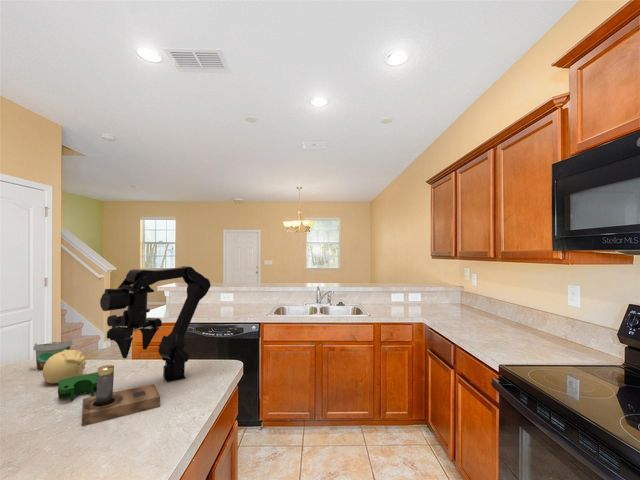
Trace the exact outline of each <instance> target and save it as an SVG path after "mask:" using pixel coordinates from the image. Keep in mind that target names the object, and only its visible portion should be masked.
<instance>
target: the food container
mask: <svg viewBox="0 0 640 480" xmlns="http://www.w3.org/2000/svg"><path fill="white" fill-rule="evenodd" d="M73 345H74V344H73V339H69V340H68V341H65V342H64V341H63V342H59V341H58V342H56V341H55V342H49V343H43V344H41V343H40V344H37V342H35V343H34V345H33V350H34V351H35V359H36V361H35V362H36V370H37V369H38V371H42V370H43V367H44V365H45V363H46V361H47V360H48V359H49V358H50V357H51V356H53V355H54V354H57V353H59V352H62V351H64V350H71V346H73Z"/></svg>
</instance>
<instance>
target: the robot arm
mask: <svg viewBox="0 0 640 480" xmlns="http://www.w3.org/2000/svg"><path fill="white" fill-rule="evenodd" d="M179 278H180V279H181V278H182V279H183V282H184V283H185V284H186V285H187V286H186V295H187V296H186V299H185V300H184V303H183V306H182V307H181V310H180V312H179V314H178V317H177V319H176V322H174V326H173V328H172V331H171V332H170V333H169V334H168V335H163V336H162V338H161V341H160V343H159V344H158V346H157V347H158V350H157V352H158V354H159V356H160V357H161V359H162V361H163V362H165V363H164V364H165V365H163V371H162V373H163V374H162V378H163V379H164V380H165V381H166V382H167V383H169V382H175V381H178V380H179V381H180V380H183V379H186V375H185V369H186V368H185V367H186V365H185V364H186V363H187V362H188V361H189V359H190V355H189V354H188V353H187V352H186V351H184V349H185V346H186V341H185V339H186V338H185V335H186V333H187V331H188V329H189V326H190V324H191V322H192V319H193V317H194V315H195V312H196V310H197V308H198V305H199V302H200V301H201V300H202V299H203V298H204V297H205V296H206V295H207V294H208V292H209V290H210V289H211V281H210V280H209V279H208V277H205V276H204V275H203V274H201V273H199V272H198V271H197V270H195V268H194V267H192V266H186V265H185V266H184V265H183V266H181V267H180V266H178V267H170V268H164V269H163V268H162V269H154V270H153V269H138V268H137V269H135V268H134V269H130V270H129V271H128V272H127V274H126V276H125V278H124V279H123V281H122V282H121V283H120V284H119V286H118V287H117V288H105V289H104V293H102V295H101V298H100V300H99V305H100V308H101V310H102V311H103V312H108V311H115V310H117V311H118V310H124V311H123V313H122V315H119V316H118V315H116V314H114V315H110V316H107V319H106V323H107V324H106V325H107V326H108V327H111V328H109V329H108V330H107V332H106V339H107V340H108V339H109V340H110V341H113V342H115V343H116V344H117V347H118V349H119V352H120V354H121V357H122V359H127V358H128V355H129V353H130V348H131V345H132V343H133V339H134V337H132V336H133V333H134V332H136V331H140V333H141V337H142V340H141V341H142V344H141V345H142V350H147V349H148V347H149V346H150V343H151V342H152V340H153V338H154V336H155V335H156V333H157V331H158V330H159V329H160V327H162V325H163V324H162V323H163V321H162V319H160V317H158V318H157V317H147V315H148V313H150V311H151V310H150V308H148V294H150V293H154V292H155V290H154V289H153V288H152V287H151V286H152V285H154V284H156V283H158V282H160V281H168V280H174V279H179ZM126 308H127V309H126ZM125 309H126V310H125Z"/></svg>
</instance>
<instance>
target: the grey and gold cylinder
mask: <svg viewBox="0 0 640 480" xmlns="http://www.w3.org/2000/svg"><path fill="white" fill-rule="evenodd" d="M97 372H98V374H97V390H96V395H95V396H96V407H101V406H106V405H109V404H111V403H112V400H113V392H114V381H115V379H114V376H115V365H113V364H107V365H106V364H105V365H102V366H99V367H97Z"/></svg>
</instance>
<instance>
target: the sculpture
mask: <svg viewBox="0 0 640 480" xmlns="http://www.w3.org/2000/svg"><path fill="white" fill-rule="evenodd" d="M86 363H87V362H86V357H85V355H83V352H82V351H79V350H77V349H70V350H64V351H62V352H59V353H57V354H54V355H53V356H51V357H50V358H49V359H48V360H47V361H46V363H45V365H44V367H43V371H42V377H43V379H44V381H45V382H46V383H48V384H59V380H62V379H66V378H71V377H76V376H81V375H83V373H84V370H85V369H86Z"/></svg>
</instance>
